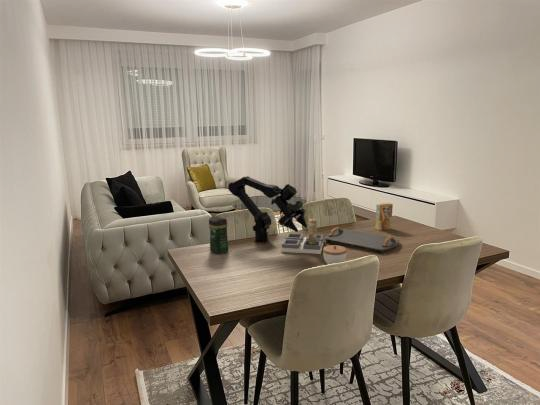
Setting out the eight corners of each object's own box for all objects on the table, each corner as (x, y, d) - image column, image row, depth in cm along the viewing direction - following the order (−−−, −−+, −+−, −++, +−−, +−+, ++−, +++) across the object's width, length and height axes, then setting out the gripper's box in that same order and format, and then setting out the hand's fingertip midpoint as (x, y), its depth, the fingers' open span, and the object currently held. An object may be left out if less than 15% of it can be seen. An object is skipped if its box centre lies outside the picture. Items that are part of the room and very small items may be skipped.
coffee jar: (231, 252, 212) (229, 217, 208) (217, 256, 207) (216, 220, 203) (220, 248, 220) (219, 213, 216) (207, 251, 215) (206, 216, 211)
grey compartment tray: (281, 251, 212) (281, 244, 211) (287, 239, 231) (287, 232, 230) (320, 253, 208) (320, 246, 207) (323, 241, 227) (324, 234, 226)
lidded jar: (318, 265, 193) (318, 245, 191) (331, 258, 201) (331, 240, 199) (337, 270, 186) (338, 250, 184) (350, 264, 194) (351, 244, 192)
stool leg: (309, 248, 211) (309, 221, 207) (307, 245, 214) (307, 219, 211) (317, 247, 211) (317, 221, 208) (315, 245, 215) (315, 219, 212)
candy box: (387, 227, 253) (388, 202, 249) (391, 228, 249) (392, 203, 246) (375, 228, 250) (376, 203, 246) (379, 230, 246) (380, 205, 243)
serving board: (319, 242, 227) (319, 231, 226) (339, 232, 245) (339, 222, 244) (387, 256, 204) (387, 244, 203) (404, 244, 222) (405, 233, 221)
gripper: (283, 199, 206) (302, 224, 203) (302, 193, 221) (320, 216, 218) (270, 213, 212) (289, 237, 209) (289, 205, 227) (307, 228, 224)
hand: (302, 229), depth 214 cm, fingers open, 9 cm apart
